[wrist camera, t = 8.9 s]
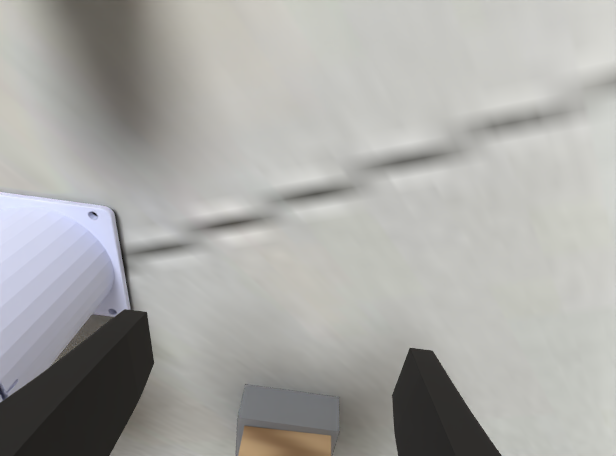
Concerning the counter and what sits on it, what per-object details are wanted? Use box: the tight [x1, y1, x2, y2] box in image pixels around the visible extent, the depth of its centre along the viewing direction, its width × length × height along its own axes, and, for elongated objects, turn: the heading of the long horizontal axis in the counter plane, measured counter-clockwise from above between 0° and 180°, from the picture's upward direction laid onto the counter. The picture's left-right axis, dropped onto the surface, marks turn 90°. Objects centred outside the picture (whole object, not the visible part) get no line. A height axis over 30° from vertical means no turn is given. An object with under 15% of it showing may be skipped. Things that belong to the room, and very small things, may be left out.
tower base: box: [236, 384, 340, 456], centre depth 28 cm, size 7×7×3 cm
